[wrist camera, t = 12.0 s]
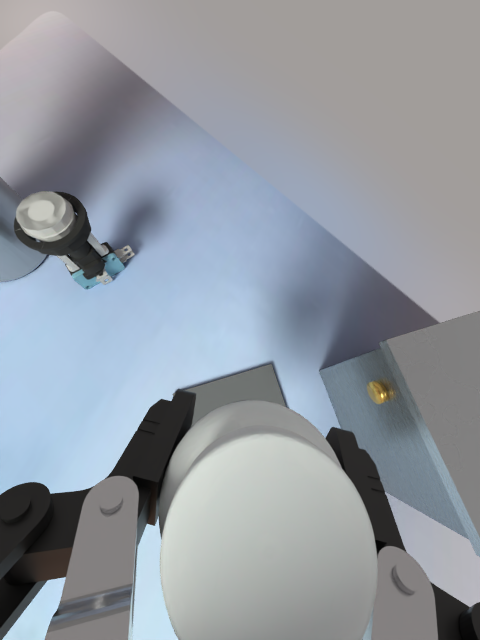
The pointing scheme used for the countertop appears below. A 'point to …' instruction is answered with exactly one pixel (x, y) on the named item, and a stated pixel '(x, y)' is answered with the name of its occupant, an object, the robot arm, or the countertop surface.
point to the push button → (67, 237)
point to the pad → (237, 390)
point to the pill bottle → (263, 532)
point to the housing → (420, 418)
